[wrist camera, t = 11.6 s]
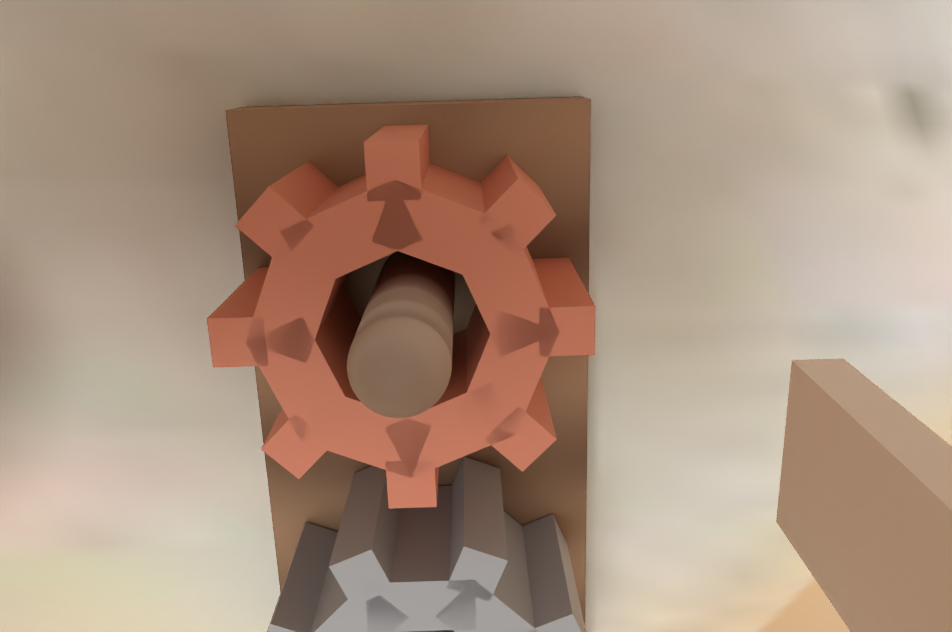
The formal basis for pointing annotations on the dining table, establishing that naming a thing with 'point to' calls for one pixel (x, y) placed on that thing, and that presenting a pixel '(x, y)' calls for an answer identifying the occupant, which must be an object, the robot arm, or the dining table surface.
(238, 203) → the gear board
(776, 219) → the dining table surface
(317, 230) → the red gear
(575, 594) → the gear
